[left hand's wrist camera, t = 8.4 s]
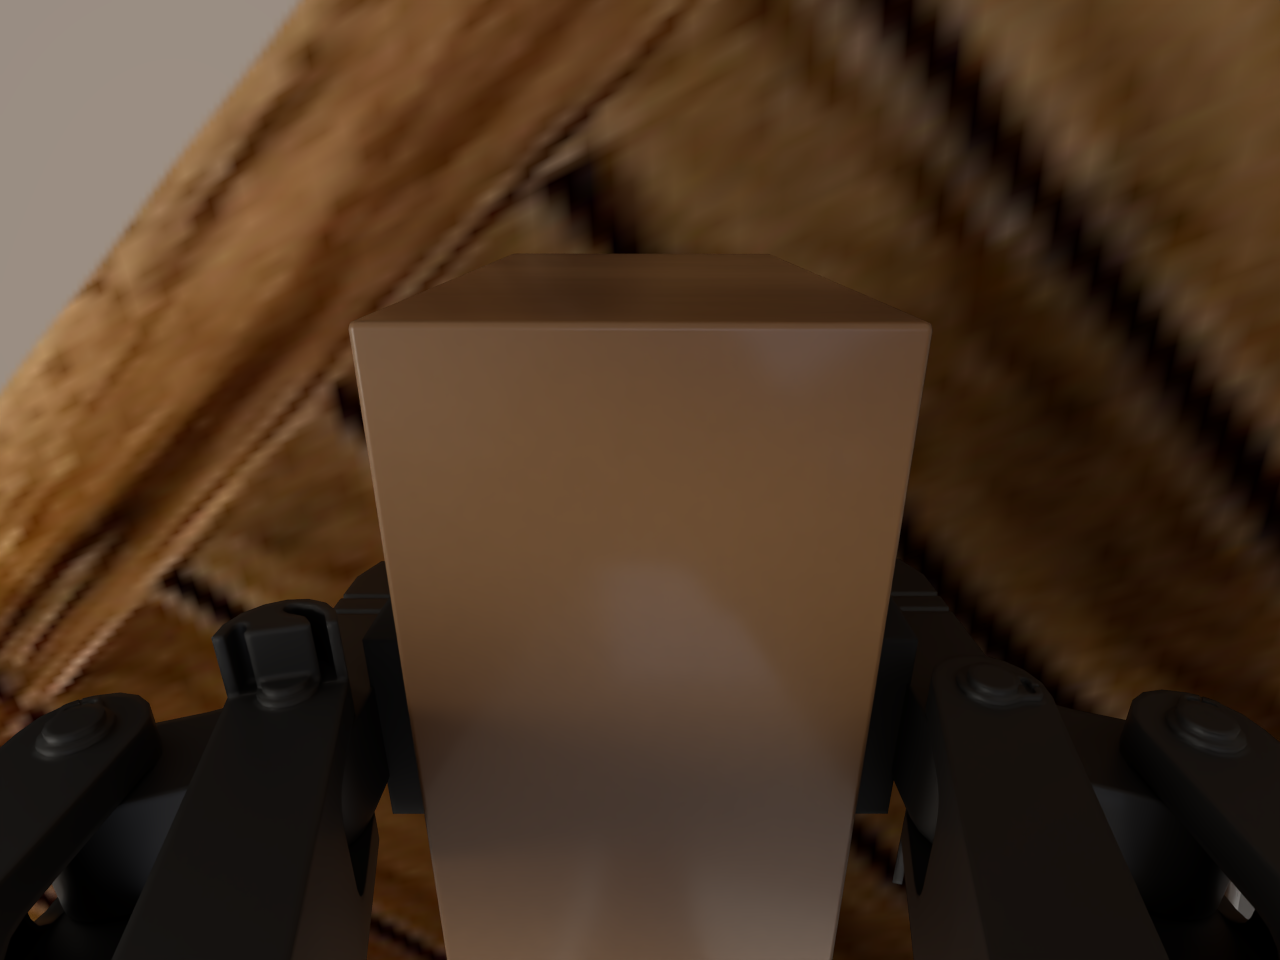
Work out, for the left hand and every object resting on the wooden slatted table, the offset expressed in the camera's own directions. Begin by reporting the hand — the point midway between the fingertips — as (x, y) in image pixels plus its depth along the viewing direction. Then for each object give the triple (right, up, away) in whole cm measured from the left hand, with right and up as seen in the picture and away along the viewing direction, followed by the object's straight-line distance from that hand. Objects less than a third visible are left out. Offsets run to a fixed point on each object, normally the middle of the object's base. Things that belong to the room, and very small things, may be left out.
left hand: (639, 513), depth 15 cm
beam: (0, -22, +10) cm, 25 cm away
